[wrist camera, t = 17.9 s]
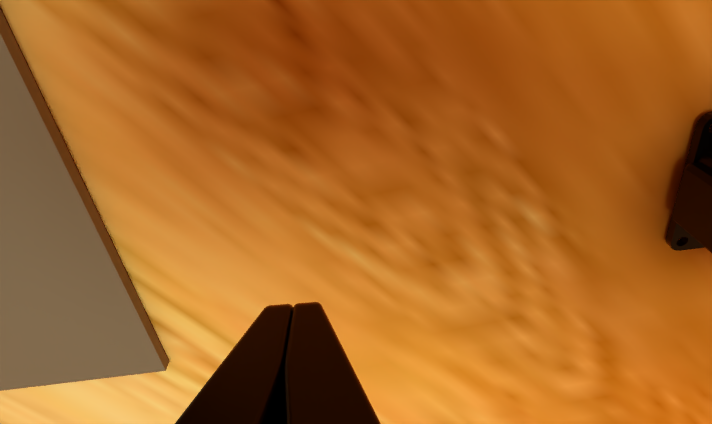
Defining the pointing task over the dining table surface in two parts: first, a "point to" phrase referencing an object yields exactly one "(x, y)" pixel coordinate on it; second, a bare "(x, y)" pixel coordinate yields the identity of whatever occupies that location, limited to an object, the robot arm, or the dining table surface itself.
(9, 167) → the rubber mat
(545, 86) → the dining table surface
